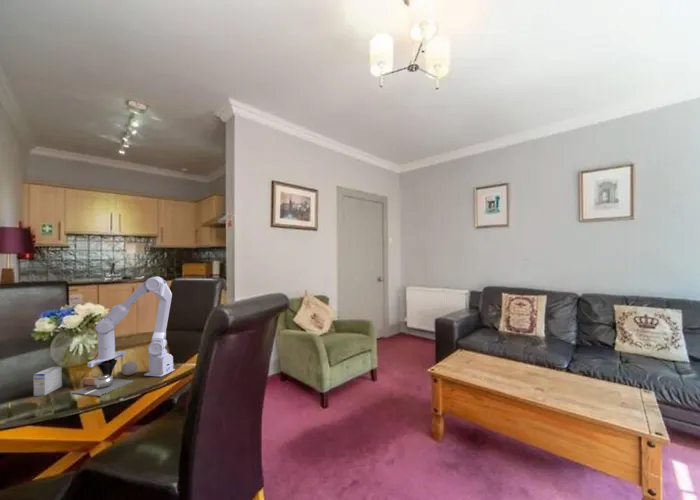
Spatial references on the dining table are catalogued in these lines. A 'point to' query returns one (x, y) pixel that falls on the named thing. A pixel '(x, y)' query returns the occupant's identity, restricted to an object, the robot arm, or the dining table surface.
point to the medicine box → (47, 381)
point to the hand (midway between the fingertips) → (107, 377)
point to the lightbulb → (129, 368)
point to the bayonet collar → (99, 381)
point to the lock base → (99, 391)
